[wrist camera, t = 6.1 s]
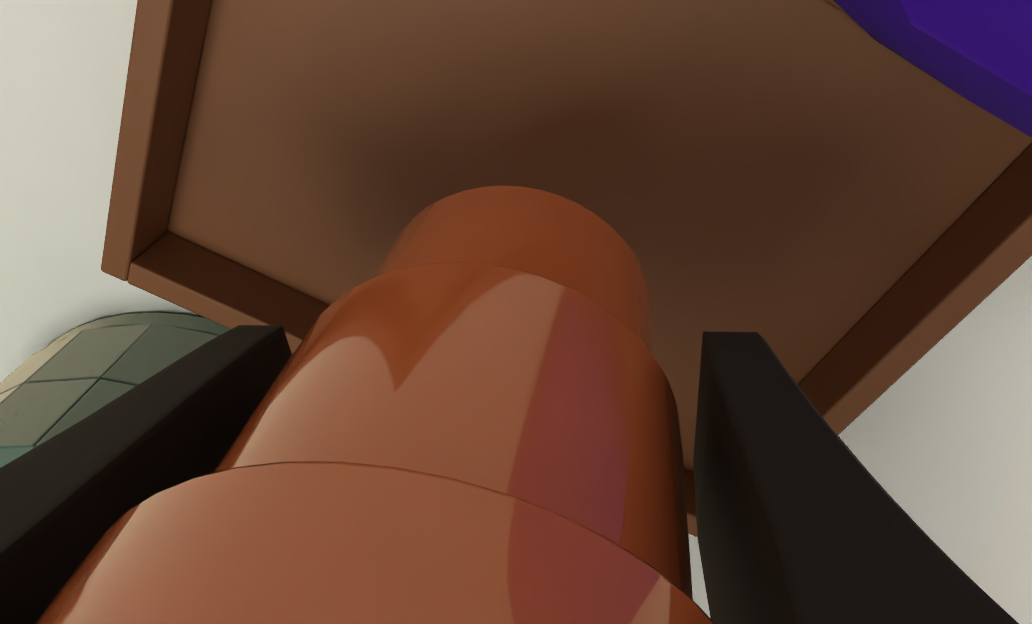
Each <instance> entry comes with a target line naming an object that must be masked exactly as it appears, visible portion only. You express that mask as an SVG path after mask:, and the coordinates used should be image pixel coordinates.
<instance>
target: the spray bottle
mask: <svg viewBox="0 0 1032 624" xmlns="http://www.w3.org/2000/svg"><path fill="white" fill-rule="evenodd" d="M834 1H835V2H836V3H837V4H838V5H839V6H840V7H841V8H842V9H843V10H844V11H845V12H846V13H847V14H848V15H849V16H850V17H851V18H852V19H853V20H854V21H855V22H856V23H857V24H858V25H859V26H860V27H862V28H863V29H864V30H865V31H866V32H867V33H868V34H869V35H870V36H871V37H872V38H873V39H874V40H875V41H877V42H878V43H880V44H882V45H883V46H885V47H886V48H888V49H889V50H891V51H892V52H894V53H896V54H897V55H899V56H900V57H902V58H903V59H905V60H906V61H908V62H910V63H911V64H913V65H914V66H916V67H917V68H919V69H920V70H922V71H924V72H925V73H927V74H928V75H930V76H931V77H933V78H934V79H936V80H938V81H939V82H941V83H942V84H944V85H945V86H947V87H948V88H950V89H952V90H953V91H955V92H956V93H958V94H959V95H961V96H962V97H964V98H966V99H967V100H969V101H970V102H972V103H974V104H975V105H977V106H979V107H980V108H982V109H984V110H986V111H987V112H989V113H991V114H992V115H994V116H996V117H998V118H999V119H1001V120H1003V121H1004V122H1006V123H1008V124H1009V125H1011V126H1013V127H1015V128H1016V129H1018V130H1020V131H1021V132H1023V133H1025V134H1026V135H1028V136H1030V137H1032V0H834Z"/></svg>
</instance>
